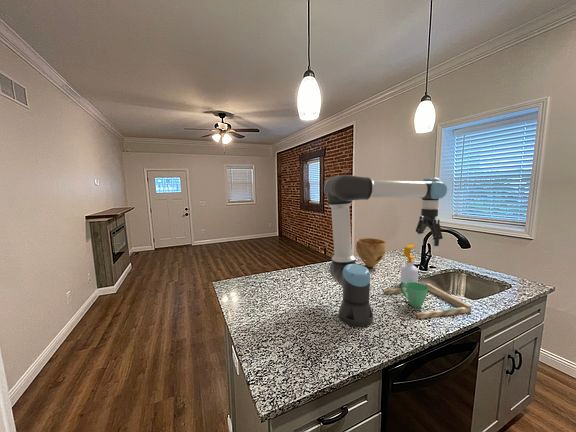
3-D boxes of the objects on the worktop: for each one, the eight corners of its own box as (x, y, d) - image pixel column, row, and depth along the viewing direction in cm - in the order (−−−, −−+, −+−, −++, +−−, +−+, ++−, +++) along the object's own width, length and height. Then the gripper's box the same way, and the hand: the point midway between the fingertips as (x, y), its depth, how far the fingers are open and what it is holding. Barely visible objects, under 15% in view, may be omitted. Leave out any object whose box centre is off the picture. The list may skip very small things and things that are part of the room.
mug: (431, 307, 120) (433, 288, 119) (417, 311, 116) (418, 291, 115) (406, 295, 134) (407, 277, 132) (393, 298, 130) (393, 280, 129)
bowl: (365, 260, 194) (366, 236, 192) (390, 267, 179) (391, 240, 176) (349, 266, 181) (350, 240, 179) (374, 274, 166) (375, 245, 163)
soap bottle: (420, 286, 144) (423, 246, 141) (409, 289, 141) (411, 247, 138) (408, 281, 153) (410, 242, 150) (397, 283, 149) (398, 244, 146)
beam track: (418, 318, 111) (418, 312, 110) (384, 292, 137) (384, 287, 137) (471, 312, 115) (471, 306, 115) (428, 288, 142) (428, 283, 142)
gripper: (453, 210, 114) (449, 255, 117) (423, 206, 139) (421, 243, 142) (437, 210, 114) (434, 255, 117) (410, 206, 139) (408, 243, 142)
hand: (427, 248), depth 129 cm, fingers open, 13 cm apart
